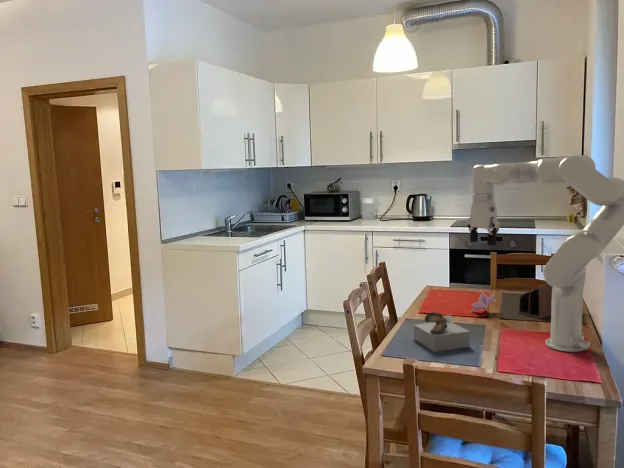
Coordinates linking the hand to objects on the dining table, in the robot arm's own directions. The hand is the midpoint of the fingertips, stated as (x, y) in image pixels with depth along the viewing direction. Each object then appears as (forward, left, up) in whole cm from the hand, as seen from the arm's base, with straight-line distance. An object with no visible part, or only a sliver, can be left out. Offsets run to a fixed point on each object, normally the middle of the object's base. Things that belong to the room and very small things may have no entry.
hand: (482, 243), depth 194 cm
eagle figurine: (-7, +26, -28) cm, 39 cm away
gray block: (-6, +23, -34) cm, 41 cm away
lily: (+16, -15, -34) cm, 40 cm away
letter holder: (+6, -38, -34) cm, 51 cm away
